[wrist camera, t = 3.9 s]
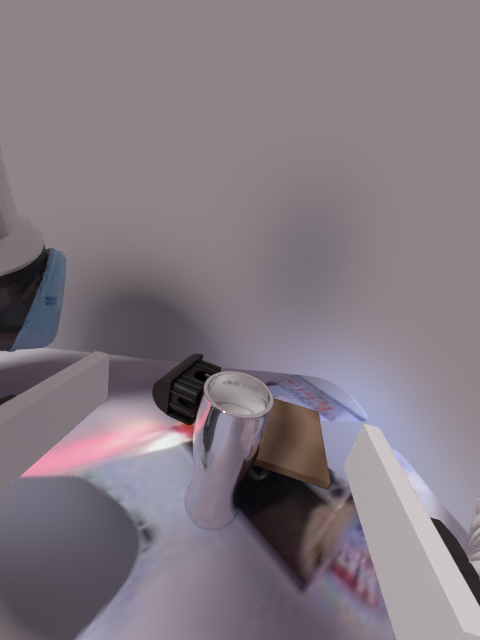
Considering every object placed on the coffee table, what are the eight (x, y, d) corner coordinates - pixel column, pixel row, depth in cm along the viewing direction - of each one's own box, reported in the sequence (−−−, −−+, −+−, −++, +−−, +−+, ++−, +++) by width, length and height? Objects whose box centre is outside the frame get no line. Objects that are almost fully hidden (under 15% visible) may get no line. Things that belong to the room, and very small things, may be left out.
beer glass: (251, 491, 29) (285, 389, 24) (222, 552, 23) (258, 433, 18) (204, 460, 32) (225, 362, 27) (166, 507, 26) (185, 392, 21)
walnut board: (224, 455, 33) (226, 448, 33) (242, 394, 46) (244, 389, 46) (327, 489, 32) (330, 483, 31) (316, 416, 45) (318, 411, 44)
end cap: (183, 379, 47) (188, 348, 45) (216, 393, 45) (223, 361, 43) (149, 410, 38) (153, 373, 36) (188, 428, 36) (195, 391, 34)
